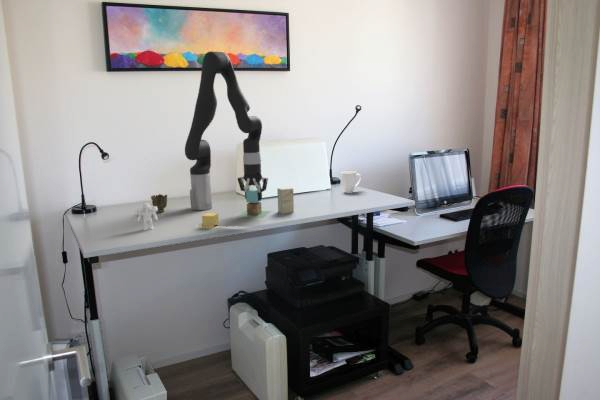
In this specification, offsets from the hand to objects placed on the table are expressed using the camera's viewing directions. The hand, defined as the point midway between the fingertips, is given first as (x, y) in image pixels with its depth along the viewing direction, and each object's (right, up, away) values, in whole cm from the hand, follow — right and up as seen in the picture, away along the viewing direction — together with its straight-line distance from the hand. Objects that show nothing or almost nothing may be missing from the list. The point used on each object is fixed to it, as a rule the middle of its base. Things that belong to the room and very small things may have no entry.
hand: (253, 200), depth 211 cm
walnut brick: (0, -6, +1) cm, 6 cm away
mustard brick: (-17, -11, -12) cm, 23 cm away
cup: (-46, -6, +15) cm, 49 cm away
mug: (+49, +4, +49) cm, 70 cm away
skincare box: (+14, -7, +4) cm, 16 cm away
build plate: (0, -7, +2) cm, 8 cm away
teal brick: (0, -1, 0) cm, 1 cm away
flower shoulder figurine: (-42, -12, -15) cm, 46 cm away
